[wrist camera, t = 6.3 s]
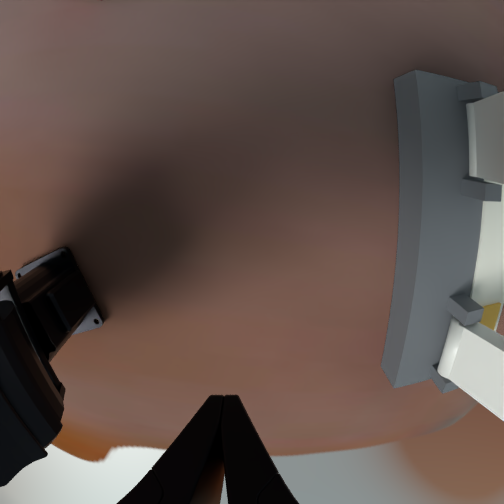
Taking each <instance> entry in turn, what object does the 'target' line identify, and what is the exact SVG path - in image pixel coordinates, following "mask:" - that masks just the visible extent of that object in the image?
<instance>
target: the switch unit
mask: <svg viewBox="0 0 504 504" xmlns="http://www.w3.org/2000/svg"><path fill="white" fill-rule="evenodd" d="M394 88H395V98H396V108H397V122H398V139H399V173H400V189H399V225H398V242H397V256H396V267H395V277H394V286H393V295H392V302H391V310H390V317H389V323H388V329H387V335H386V341H385V347H384V352H383V357H382V362H381V367H382V369H383V371H384V373H385V374H386V376H387V378H388V379H389V381H390V383H391V385H392V386H393V388H398V387H402V386H406V385H410V384H414V383H418V382H421V381H425V380H429V379H432V380H433V381H434V383H435V384H436V386H437V387H438V388H439V390H440V391H441V393H446V392H448V391H451V390H454V389H457V388H458V386H457V385H456V384H454V383H453V382H452V381H451V380H449V379H448V378H444V377H442V376H441V375H440V374H439V373H438V370H437V369H438V365H439V362H440V359H441V355H442V352H443V349H444V345H445V342H446V338H447V334H448V330H449V326H450V322H451V318H452V316H454V317H455V318H456V319H458V320H459V321H460V322H461V323H462V324H463V325H464V326H466V325H470V324H474V323H477V322H479V323H481V324H483V325H485V326H486V327H488V328H490V329H492V330H493V331H495V332H496V328H497V325H498V322H499V318H500V315H501V311H502V308H503V304H504V184H501V183H497V182H494V181H490V180H486V179H482V178H478V177H473V176H469V136H468V120H467V108H466V104H468V103H474V102H477V101H479V100H482V99H484V98H487V97H489V96H492V95H495V94H497V93H500V92H497V87H496V86H493V85H490V84H487V83H484V82H481V81H477V82H472V83H469V82H465V81H462V80H458V79H454V78H450V77H446V76H442V75H438V74H434V73H429V72H424V71H420V70H413V71H411V72H409V73H406V74H404V75H402V76H399V77H397V78H395V79H394Z"/></svg>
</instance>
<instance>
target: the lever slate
mask: <svg viewBox="0 0 504 504" xmlns="http://www.w3.org/2000/svg"><path fill="white" fill-rule="evenodd" d="M466 108H467V120H468V136H469V176H473V177H478V178H482V179H486V180H490V181H494V182H497V183H501V184H504V91H503V92H500V93H497V94H495V95H492V96H489V97H487V98H484V99H482V100H479V101H477V102H474V103H468V104H466Z"/></svg>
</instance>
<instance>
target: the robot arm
mask: <svg viewBox="0 0 504 504" xmlns="http://www.w3.org/2000/svg"><path fill="white" fill-rule="evenodd" d="M63 252H65V253H66V256H64V254H63ZM15 274H16V278H17V280H16V281H14V282H13V279H14V278H13V275H12V272H11V270H7V271H3V272H2V271H0V487H2V486H5V485H7V484H8V483H9V481H11V480H12V478H13V477H14V476H15V475H16V474H17V473H18V472H19V471H21V470H22V469H23V468H24V467H25V466H27V465H29V464H30V463H32V462H34V461H36V460H39V459H42V458H44V457H46V456H47V455H48V453H47V452H46V451H45V448H46V447H47V446H49V445H50V444H51V443H52V441H53V440H54V439H55V438H56V437H57V435H58V434H59V432H60V431H61V429H62V426H63V425H62V423H61V422H60V421H61V418H62V414H63V411H64V405H63V400H64V394H65V387H64V386H63V384H62V383H61V382H60V381H59V380H58V378H57V376H56V374H55V373H54V371H53V369H52V367H51V365H50V363H49V362H50V361H51V360H52V359H53V357H54V356H55V355H56V354H57V352H58V351H59V350H60V349H61V347H62V346H63V345H64V344H65V343H66V341H67V340H68V339H69V338H70V337H71V335H74V334H77V333H81V332H84V331H88V330H92V329H95V328H99V327H101V326H102V325H103V323H104V318H103V316H102V314H101V312H100V310H99V309H98V307H97V305H96V303H95V300H94V298H93V296H92V294H91V292H90V290H89V288H88V286H87V284H86V282H85V280H84V278H83V276H82V274H81V272H80V270H79V268H78V266H77V264H76V262H75V259H74V257H73V255H72V253H71V251H70V249H69V248H68V247H62V248H60V249H58V250H56V251H54V252H52V253H50V254H48V255H46V256H44V257H42V258H40V259H38V260H36V261H34V262H32V263H30V264H28V265H26V266H24V267H22V268H21V269H19V270H17V271H16V273H15ZM20 274H21V275H20ZM21 276H22V277H21ZM96 319H98V320H99V322H98V321H97V320H96ZM278 473H279V472H278V470H277V468H276V467H275V465H274V463H273V461H272V459H271V457H270V456H269V454H268V452H267V450H266V448H265V446H264V445H263V443H262V441H261V439H260V437H259V435H258V433H257V431H256V429H255V427H254V425H253V423H252V422H251V420H250V418H249V416H248V414H247V412H246V410H245V408H244V406H243V404H242V402H241V400H240V398H239V396H238V395H225V396H223V395H210V396H209V397H208V399H207V400H206V401H205V402H204V404H203V405H202V406H201V408H200V409H199V410H198V411H197V413H196V414H195V415H194V417H193V418H192V419H191V420H190V422H189V423H188V424H187V425H186V427H185V428H184V429H183V430H182V432H181V433H180V434H179V435H178V437H177V438H176V439H175V440H174V442H173V443H172V444H171V445H170V446H169V448H168V449H167V450H166V451H165V453H164V454H163V455H162V456H161V457H160V459H159V460H158V461H157V462H156V463H155V465H154V466H153V467H152V470H149V472H148V473H147V474H146V475H145V476H144V477H143V479H142V480H141V481H140V482H139V483H138V484H137V485H136V486H135V487H134V488H133V489H132V490H131V491H130V492H129V493H128V494H127V495H126V496H125V497H124V498H122V499H121V500H120V501H119V502H118V503H117V504H220V500H221V493H222V488H223V481H224V475H225V480H226V489H227V497H228V504H299V503H298V501H297V500H296V499H295V498H294V496H293V495H292V493H291V492H290V490H289V489H288V487H287V485H286V484H285V482H284V480H283V479H282V477H281V475H280V474H278Z"/></svg>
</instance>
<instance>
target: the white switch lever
mask: <svg viewBox="0 0 504 504" xmlns="http://www.w3.org/2000/svg"><path fill="white" fill-rule="evenodd" d="M437 370H438V373H439V374H440V375H441V376H442V377H444V378H448V379H449V380H451V381H452V382H453V383H454V384H456V385H457V386H458V387H460V388H461V389H462V390H464V391H465V392H466V393H468V394H469V395H470V396H471V397H473V398H474V399H475V400H477V401H478V402H479V403H481V404H482V405H483V406H485V407H486V408H487V409H488V410H490V411H491V412H492V413H494V414H495V415H496V416H497V417H499V418H500V419H501V420H503V421H504V336H502V335H500V334H499V333H497V332H495V331H493V330H492V329H490V328H488V327H486V326H485V325H483V324H481V323H479V322H477V323H474V324H470V325H466V326H464V325H463V324H462V323H461V322H460V321H459V320H458V319H456V318H455V317H454V316H452V318H451V322H450V326H449V330H448V334H447V338H446V342H445V345H444V349H443V352H442V355H441V359H440V362H439V365H438V369H437Z"/></svg>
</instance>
